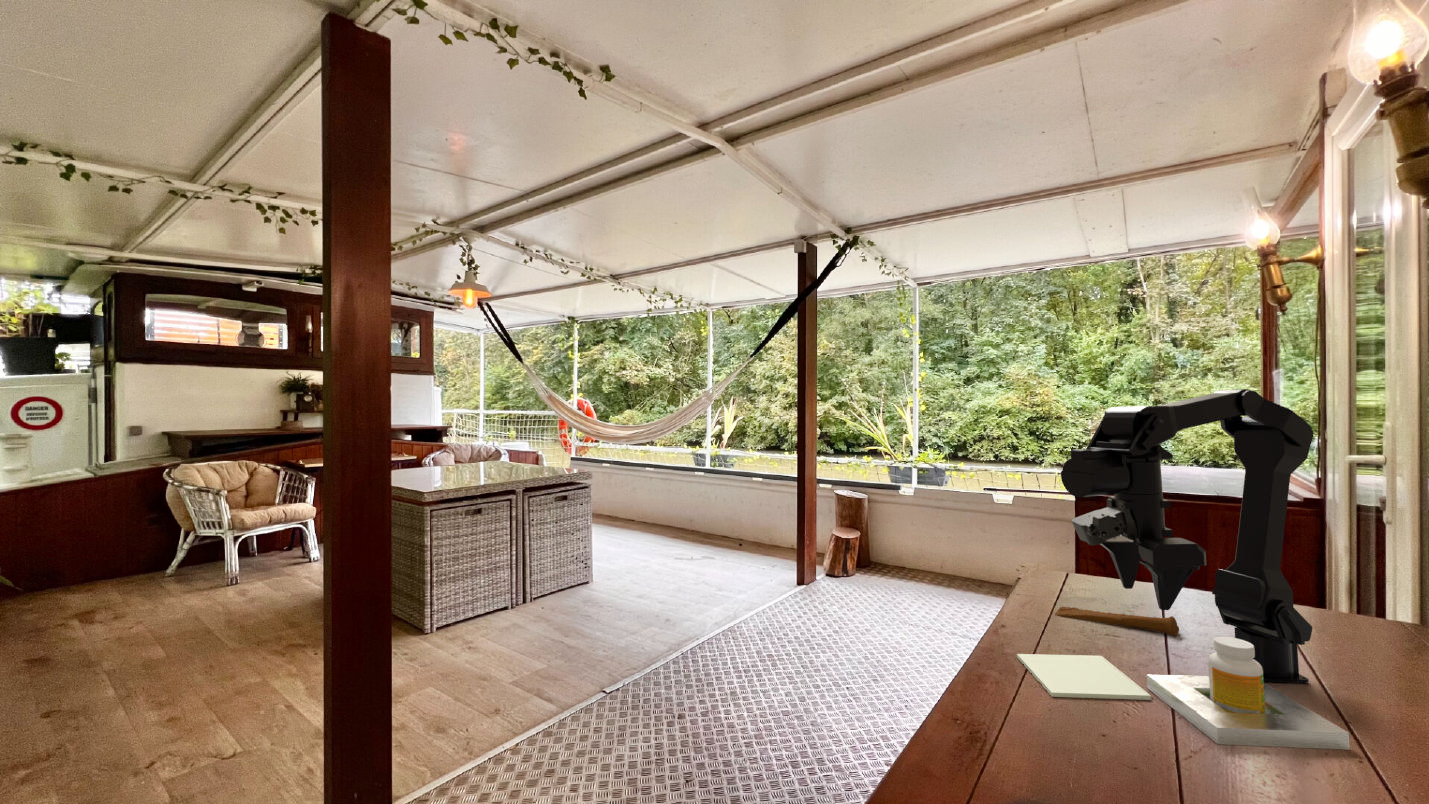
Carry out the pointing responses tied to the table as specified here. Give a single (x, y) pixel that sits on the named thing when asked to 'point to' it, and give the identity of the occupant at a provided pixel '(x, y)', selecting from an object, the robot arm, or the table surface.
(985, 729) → the table surface
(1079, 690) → the sage pad
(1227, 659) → the supplement bottle
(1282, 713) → the post foot
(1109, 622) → the primitive tool
